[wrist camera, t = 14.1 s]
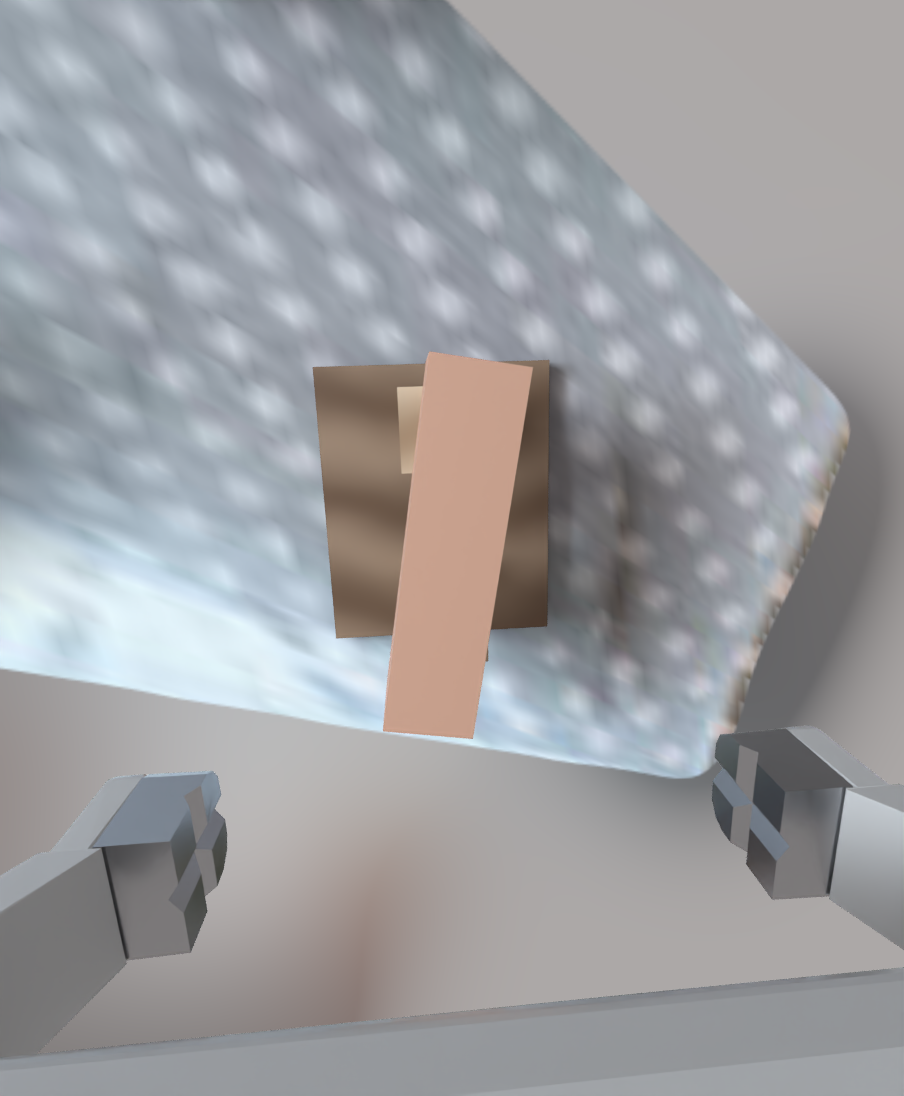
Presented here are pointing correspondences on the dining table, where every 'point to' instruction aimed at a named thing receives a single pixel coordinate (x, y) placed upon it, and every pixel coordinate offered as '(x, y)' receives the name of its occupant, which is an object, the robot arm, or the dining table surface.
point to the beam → (454, 542)
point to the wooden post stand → (384, 488)
